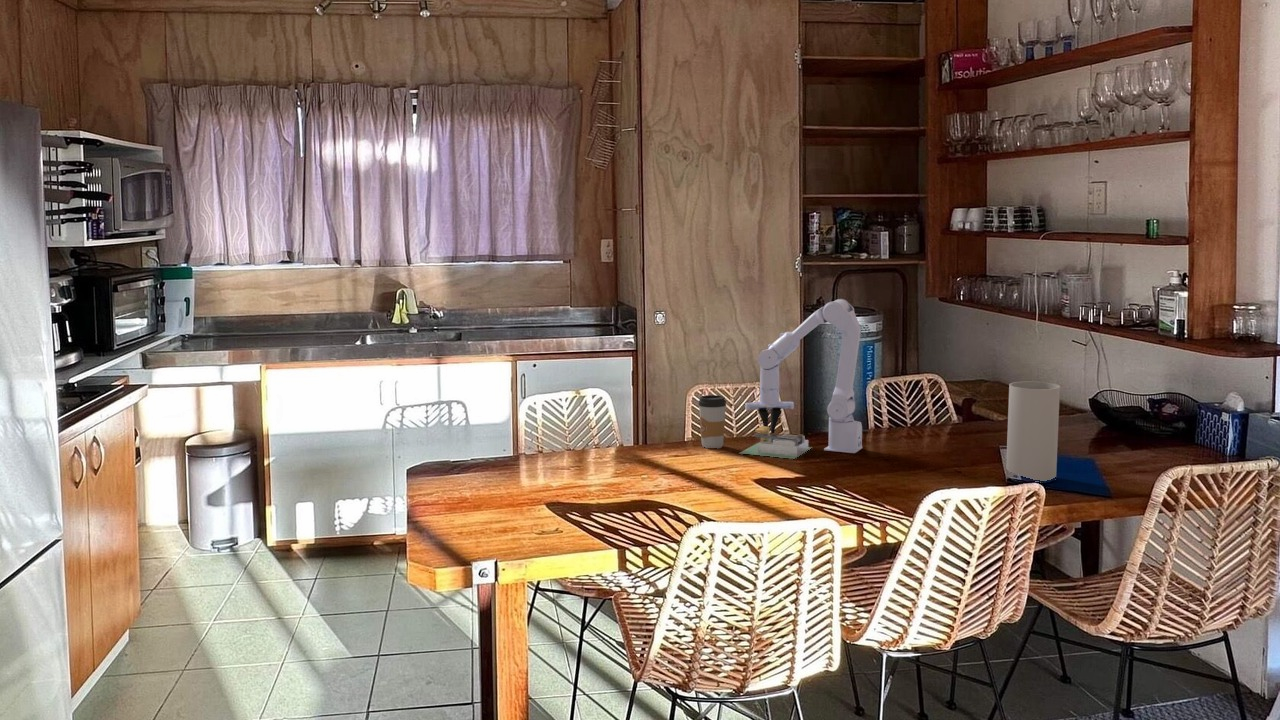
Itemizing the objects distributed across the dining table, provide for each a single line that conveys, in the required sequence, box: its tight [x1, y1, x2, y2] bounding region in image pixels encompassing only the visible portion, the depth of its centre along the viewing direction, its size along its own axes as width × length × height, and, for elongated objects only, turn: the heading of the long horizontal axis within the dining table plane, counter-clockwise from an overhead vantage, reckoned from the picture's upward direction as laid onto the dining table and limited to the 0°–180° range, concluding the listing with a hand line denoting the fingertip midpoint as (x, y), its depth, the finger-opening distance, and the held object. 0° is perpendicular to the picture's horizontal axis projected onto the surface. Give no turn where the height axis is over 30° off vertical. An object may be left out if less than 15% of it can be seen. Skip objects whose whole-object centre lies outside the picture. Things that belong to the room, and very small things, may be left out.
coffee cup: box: [698, 394, 727, 449], centre depth 347 cm, size 8×8×15 cm
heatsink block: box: [757, 433, 809, 458], centre depth 339 cm, size 12×10×5 cm
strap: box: [753, 432, 802, 442], centre depth 339 cm, size 14×3×1 cm, turn 63°
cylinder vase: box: [1005, 381, 1061, 483], centre depth 304 cm, size 12×12×25 cm
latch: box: [754, 425, 770, 442], centre depth 346 cm, size 2×5×6 cm, turn 153°
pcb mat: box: [738, 442, 814, 460], centre depth 341 cm, size 17×16×1 cm
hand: (769, 432), depth 351 cm, fingers closed
